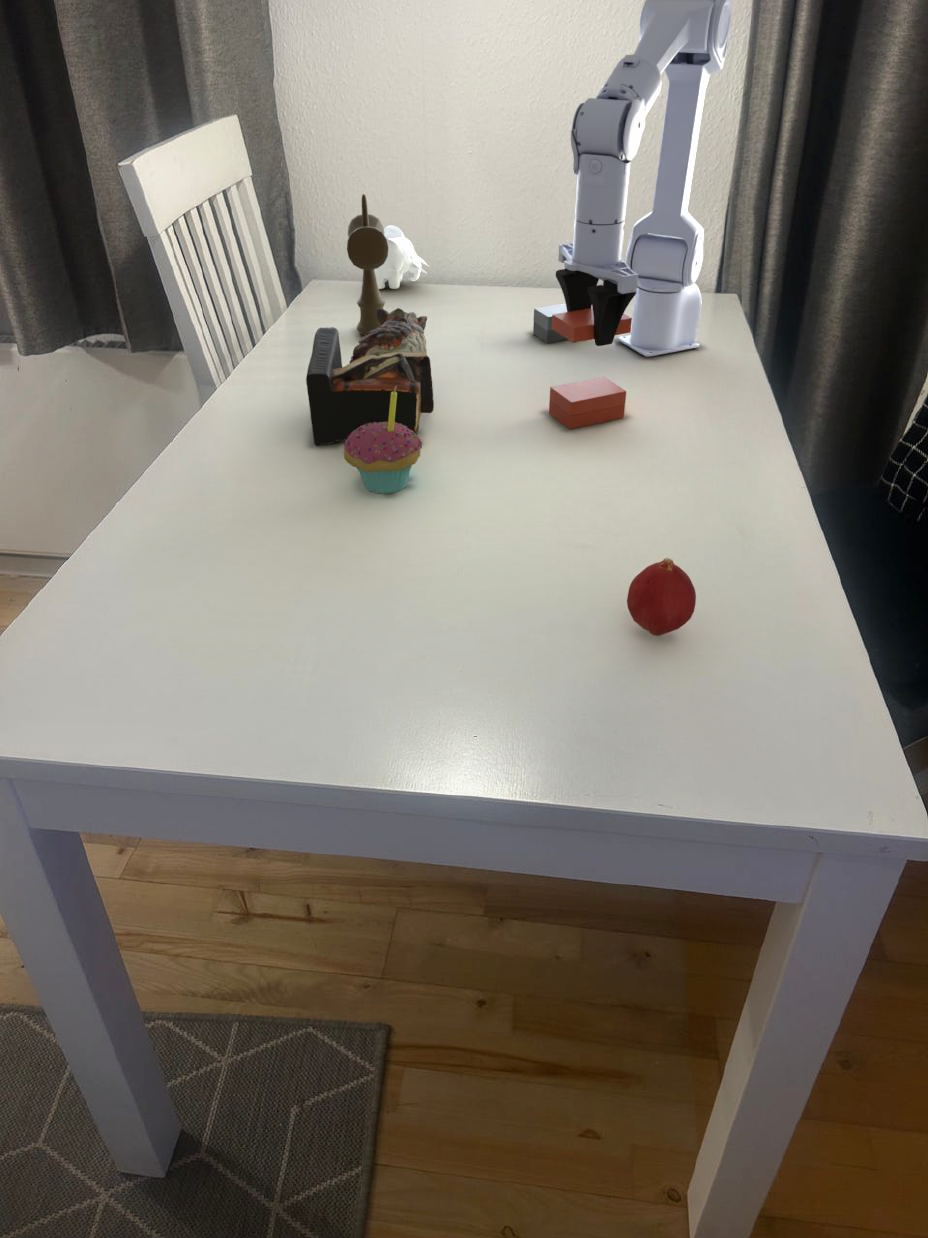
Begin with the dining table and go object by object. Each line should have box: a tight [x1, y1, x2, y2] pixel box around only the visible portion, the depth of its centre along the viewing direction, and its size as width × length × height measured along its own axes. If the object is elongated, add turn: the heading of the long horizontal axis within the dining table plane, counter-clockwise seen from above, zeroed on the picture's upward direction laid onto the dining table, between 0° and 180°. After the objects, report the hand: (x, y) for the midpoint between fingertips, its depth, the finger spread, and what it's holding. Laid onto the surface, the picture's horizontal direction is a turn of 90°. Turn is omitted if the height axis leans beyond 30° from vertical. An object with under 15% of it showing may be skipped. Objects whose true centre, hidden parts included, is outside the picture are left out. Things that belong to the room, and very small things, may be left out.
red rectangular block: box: [548, 400, 626, 430], centre depth 117 cm, size 8×5×2 cm
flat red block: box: [552, 307, 632, 344], centre depth 111 cm, size 8×5×2 cm
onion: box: [626, 557, 697, 637], centre depth 79 cm, size 6×6×8 cm
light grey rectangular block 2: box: [533, 302, 567, 330], centre depth 139 cm, size 8×4×2 cm, turn 115°
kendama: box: [346, 193, 389, 336], centre depth 137 cm, size 6×10×20 cm, turn 7°
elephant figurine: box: [374, 224, 430, 290], centre depth 159 cm, size 10×12×9 cm
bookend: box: [305, 308, 435, 446], centre depth 118 cm, size 15×11×25 cm
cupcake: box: [343, 386, 423, 495], centre depth 100 cm, size 9×8×12 cm
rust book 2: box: [549, 376, 627, 416], centre depth 116 cm, size 8×5×2 cm
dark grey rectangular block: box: [532, 321, 569, 344], centre depth 140 cm, size 8×4×2 cm, turn 115°
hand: (590, 336), depth 112 cm, fingers closed on flat red block, 5 cm apart
